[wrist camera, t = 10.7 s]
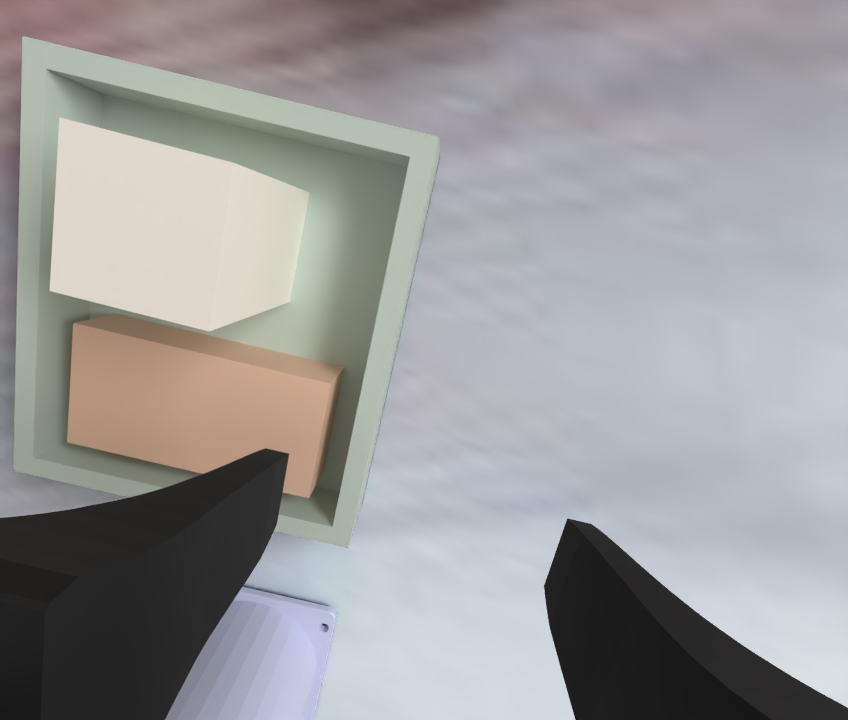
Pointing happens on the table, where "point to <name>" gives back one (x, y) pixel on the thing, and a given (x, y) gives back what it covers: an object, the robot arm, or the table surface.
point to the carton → (170, 230)
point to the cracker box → (198, 399)
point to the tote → (273, 329)
